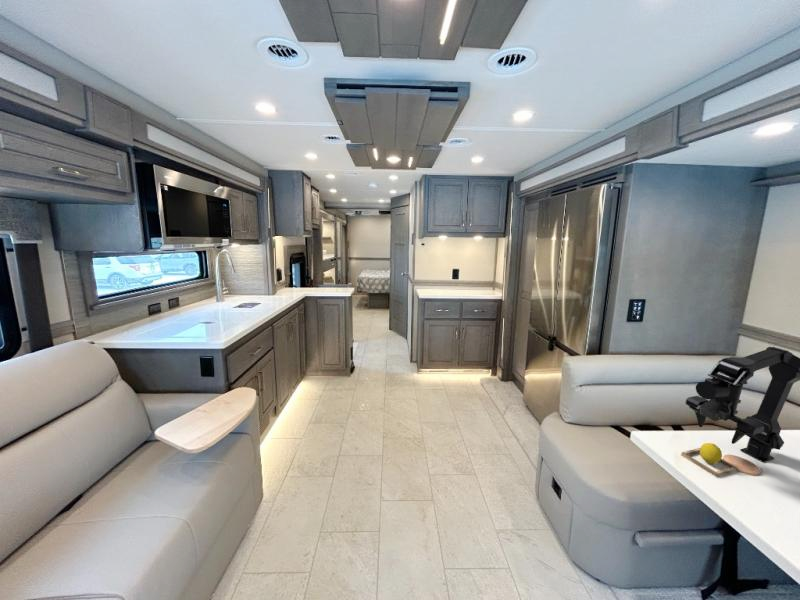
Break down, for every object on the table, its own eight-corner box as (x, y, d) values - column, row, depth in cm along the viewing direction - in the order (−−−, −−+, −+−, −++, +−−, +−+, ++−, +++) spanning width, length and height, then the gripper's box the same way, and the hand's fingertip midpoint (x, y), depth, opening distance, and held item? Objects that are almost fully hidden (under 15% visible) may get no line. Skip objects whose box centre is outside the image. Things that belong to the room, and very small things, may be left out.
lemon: (723, 469, 107) (728, 450, 105) (704, 467, 108) (710, 447, 106) (710, 458, 112) (716, 439, 110) (693, 456, 113) (698, 437, 112)
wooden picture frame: (700, 450, 117) (701, 447, 116) (736, 470, 107) (737, 467, 106) (680, 455, 114) (681, 452, 113) (716, 476, 104) (716, 473, 104)
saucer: (732, 454, 114) (733, 452, 114) (766, 472, 106) (767, 470, 106) (716, 458, 112) (717, 456, 112) (749, 477, 104) (750, 475, 103)
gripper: (679, 385, 110) (670, 423, 114) (748, 414, 93) (735, 458, 97) (700, 381, 113) (691, 418, 117) (771, 408, 96) (758, 451, 99)
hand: (716, 434), depth 107 cm, fingers open, 9 cm apart
